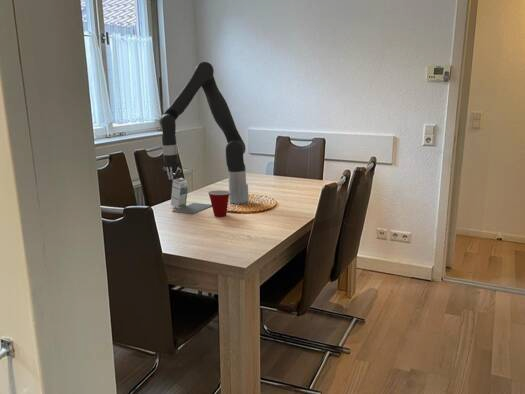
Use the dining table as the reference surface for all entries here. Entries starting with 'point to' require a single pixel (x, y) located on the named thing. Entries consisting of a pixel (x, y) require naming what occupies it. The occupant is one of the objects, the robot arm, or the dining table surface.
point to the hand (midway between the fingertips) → (173, 186)
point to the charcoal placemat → (192, 208)
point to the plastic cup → (219, 202)
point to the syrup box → (179, 192)
